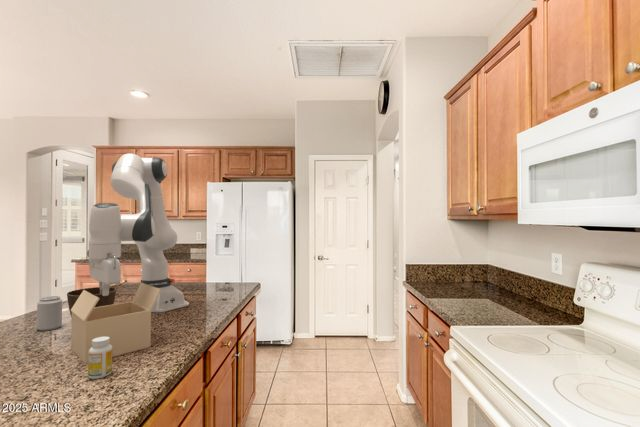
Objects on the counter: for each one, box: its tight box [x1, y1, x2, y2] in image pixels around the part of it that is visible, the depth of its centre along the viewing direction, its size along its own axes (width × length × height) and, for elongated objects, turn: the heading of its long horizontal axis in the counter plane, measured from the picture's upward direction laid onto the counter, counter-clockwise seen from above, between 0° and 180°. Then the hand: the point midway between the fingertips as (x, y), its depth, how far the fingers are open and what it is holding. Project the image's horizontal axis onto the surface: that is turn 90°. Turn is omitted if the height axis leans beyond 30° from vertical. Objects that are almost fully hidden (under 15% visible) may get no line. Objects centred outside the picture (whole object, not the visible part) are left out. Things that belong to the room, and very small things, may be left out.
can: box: [36, 295, 63, 332], centre depth 129 cm, size 8×8×12 cm
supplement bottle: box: [87, 336, 113, 380], centre depth 89 cm, size 5×5×10 cm
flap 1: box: [71, 290, 100, 321], centre depth 104 cm, size 7×17×1 cm
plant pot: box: [66, 286, 117, 319], centre depth 121 cm, size 15×15×16 cm
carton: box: [70, 300, 152, 365], centre depth 109 cm, size 18×18×12 cm
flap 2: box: [132, 282, 161, 310], centre depth 117 cm, size 7×17×1 cm
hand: (104, 295), depth 108 cm, fingers closed
